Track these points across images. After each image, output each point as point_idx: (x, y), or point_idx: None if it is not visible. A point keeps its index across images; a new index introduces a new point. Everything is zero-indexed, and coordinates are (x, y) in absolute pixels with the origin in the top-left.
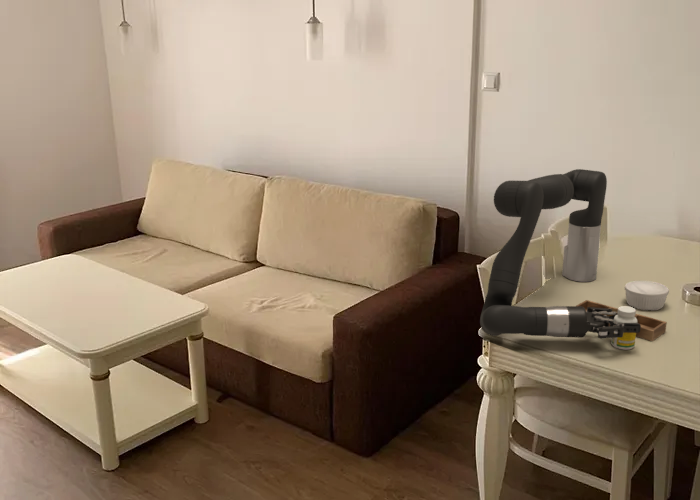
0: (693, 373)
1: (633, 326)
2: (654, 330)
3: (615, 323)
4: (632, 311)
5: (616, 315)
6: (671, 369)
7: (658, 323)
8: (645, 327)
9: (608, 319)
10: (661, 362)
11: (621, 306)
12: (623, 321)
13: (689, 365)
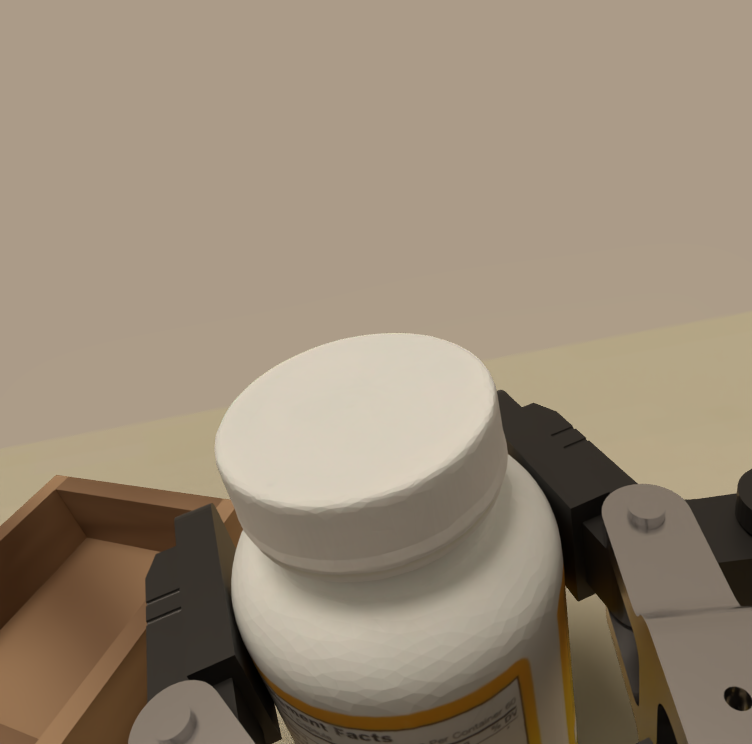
0: (637, 335)
1: (568, 433)
2: (219, 499)
3: (718, 588)
4: (418, 343)
5: (366, 634)
6: (675, 398)
7: (38, 530)
8: (21, 640)
9: (729, 704)
10: (610, 452)
11: (250, 480)
12: (542, 513)
13: (546, 362)
